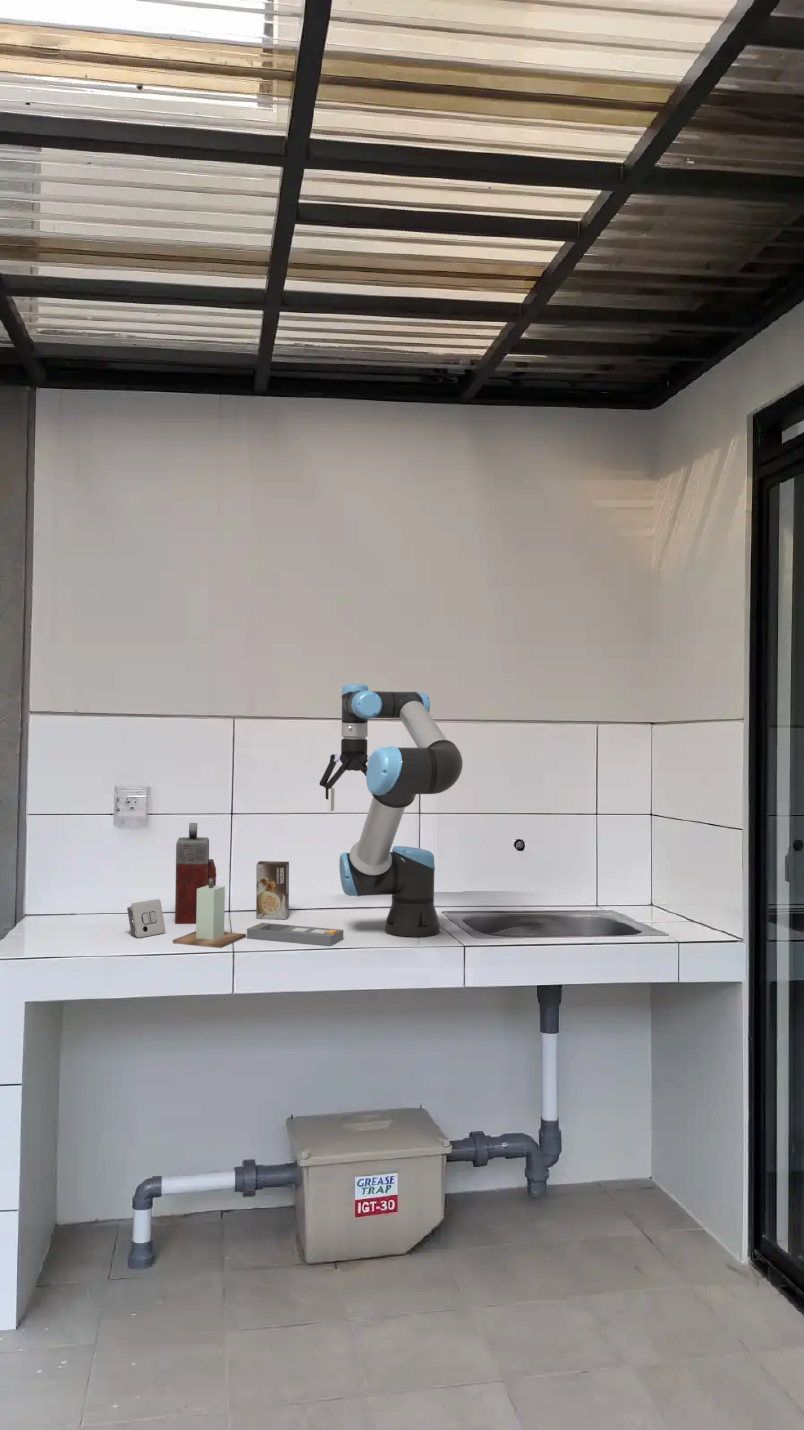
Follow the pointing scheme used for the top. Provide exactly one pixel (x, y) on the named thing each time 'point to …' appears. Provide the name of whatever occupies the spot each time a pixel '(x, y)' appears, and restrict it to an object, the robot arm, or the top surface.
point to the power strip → (295, 934)
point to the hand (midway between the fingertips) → (353, 812)
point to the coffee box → (272, 890)
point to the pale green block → (210, 911)
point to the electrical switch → (146, 918)
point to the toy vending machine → (191, 874)
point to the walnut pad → (218, 942)
